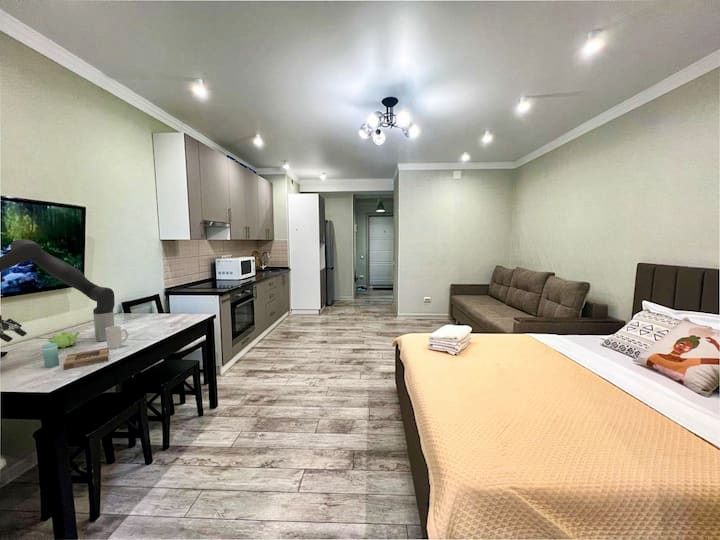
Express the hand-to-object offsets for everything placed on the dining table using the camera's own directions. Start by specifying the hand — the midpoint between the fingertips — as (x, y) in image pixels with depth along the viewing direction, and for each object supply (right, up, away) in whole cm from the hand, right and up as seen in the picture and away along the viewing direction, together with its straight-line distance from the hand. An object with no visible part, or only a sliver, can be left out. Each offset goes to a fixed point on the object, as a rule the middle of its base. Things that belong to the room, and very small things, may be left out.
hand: (18, 337), depth 134 cm
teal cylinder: (+10, -15, +5) cm, 19 cm away
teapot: (-11, -13, +31) cm, 35 cm away
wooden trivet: (+21, -15, +12) cm, 29 cm away
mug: (+21, -13, +31) cm, 40 cm away
